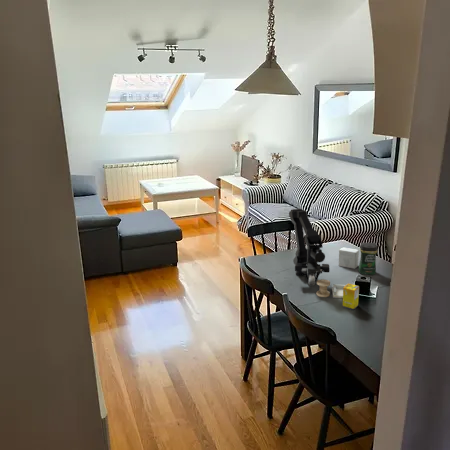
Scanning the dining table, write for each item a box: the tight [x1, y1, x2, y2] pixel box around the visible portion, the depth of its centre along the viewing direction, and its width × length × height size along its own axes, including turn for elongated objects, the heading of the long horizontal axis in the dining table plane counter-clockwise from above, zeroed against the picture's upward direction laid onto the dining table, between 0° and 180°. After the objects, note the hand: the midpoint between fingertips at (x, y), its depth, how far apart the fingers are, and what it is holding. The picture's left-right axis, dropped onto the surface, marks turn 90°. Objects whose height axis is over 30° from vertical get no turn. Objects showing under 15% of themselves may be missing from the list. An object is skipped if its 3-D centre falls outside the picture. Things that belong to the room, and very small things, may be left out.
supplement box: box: [342, 282, 360, 311], centre depth 212 cm, size 6×6×11 cm
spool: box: [316, 278, 331, 298], centre depth 227 cm, size 7×7×7 cm
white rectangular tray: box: [331, 283, 347, 299], centre depth 227 cm, size 10×12×3 cm
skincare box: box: [338, 246, 360, 270], centre depth 261 cm, size 10×6×10 cm, turn 56°
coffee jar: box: [358, 242, 378, 276], centre depth 249 cm, size 10×8×19 cm
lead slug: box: [307, 273, 316, 286], centre depth 239 cm, size 4×4×7 cm
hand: (311, 281), depth 240 cm, fingers closed on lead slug, 4 cm apart
